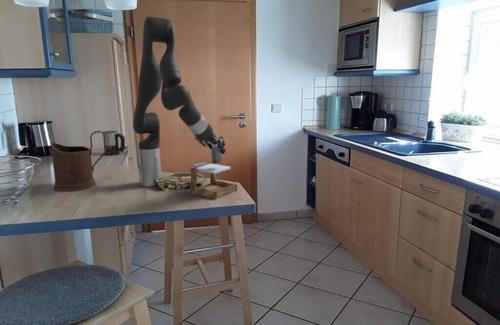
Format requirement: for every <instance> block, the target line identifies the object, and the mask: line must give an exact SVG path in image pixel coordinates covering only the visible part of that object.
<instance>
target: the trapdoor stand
mask: <svg viewBox="0 0 500 325" xmlns="http://www.w3.org/2000/svg"><path fill="white" fill-rule="evenodd" d="M210 163H212V160H211V161H210ZM210 163H209V164H210ZM212 164H217V163H212ZM190 173H191V184H190V185H189V193H190V194H194V195H198V196H203V197H206V198H210V199H214V200H217V199H220V198H222V197H225V196H227V195H230V194H232V193H235V192H238V184H237V183H234V182H228V181H223V180H220V179H217V173H216V174H214V173H210V179H209V183H208V184H205V185H202V186H199V187H198V184H197V174H198V173H197V171H196V167H191V166H190Z"/></svg>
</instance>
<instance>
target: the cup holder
mask: <svg viewBox="0 0 500 325" xmlns="http://www.w3.org/2000/svg"><path fill="white" fill-rule="evenodd" d="M103 132H104V131H102V130H96V131H93V132H91V134H90V135H89V140H90V142H89V143H90V148H89V147H87V146H83V145H82V146H81V145H80V146H79V145H78V146H77V145H76V146H75V145H74V146H71V145H70V146H69V145H63V144H59V143H56V142H51V143H50V149H51V151H50V152H51V157H52V164H53V165H52V166H53V174H54V180H55V181H54V186H53V188H52V190H54V191H55V192H59V193H72V192H75V193H76V192H80V191H86V190H89V189H92V188H95V186H97V182H96V181H95V178H94V175H93V172H94V171H95V169H94V167H95V166H96V165H97V164H98V162H99V161H100V160H101V159H102V158H103V157H104V156H105V155H104V154H105V153H106V141H105V134H104V133H103ZM98 133H100V134H102V137H103V136H104V142H103V147H104V146H105V152H103V153H102V154H101V155H100V156H99V158H98V159H97V160H96V161H95V163H93V162H92V156H91V154H92V153H93V152H92V149H93V139H92V138H93V135H94V134H98ZM92 163H93V165H92Z"/></svg>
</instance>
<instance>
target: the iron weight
mask: <svg viewBox="0 0 500 325" xmlns="http://www.w3.org/2000/svg"><path fill="white" fill-rule="evenodd" d="M214 144H215V143H214ZM218 146H219V144H218ZM210 151H211V153H210V154H211V161H212V163H216V164H222V163H223V154H222V153H221V152H220V151H219V150H218V148H216V147H214V146H212V145H211V150H210Z"/></svg>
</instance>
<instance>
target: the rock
mask: <svg viewBox="0 0 500 325" xmlns="http://www.w3.org/2000/svg"><path fill="white" fill-rule="evenodd" d="M206 180H208V177H207V176H205V175H203V174H201V173H197V185H198V184H202V183H204V182H205V181H206ZM155 181H156V182H157V183H158V187H159V188H161V189H162V190H163V191H165V190H174V192H176V191H177V190H179V189H180V190H184V189H185V188H187V187H188V186H189V187H190V186H191V172H175V173H173V174H170V175H169V174H168V175H165V176H161V178H157V179H155ZM175 190H176V191H175Z"/></svg>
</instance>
